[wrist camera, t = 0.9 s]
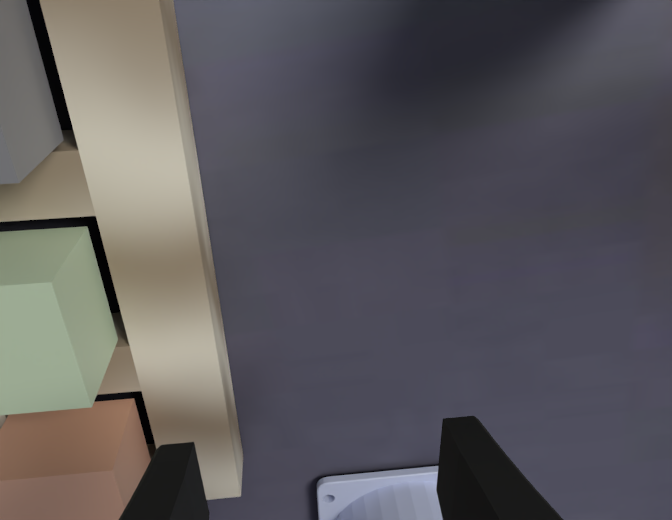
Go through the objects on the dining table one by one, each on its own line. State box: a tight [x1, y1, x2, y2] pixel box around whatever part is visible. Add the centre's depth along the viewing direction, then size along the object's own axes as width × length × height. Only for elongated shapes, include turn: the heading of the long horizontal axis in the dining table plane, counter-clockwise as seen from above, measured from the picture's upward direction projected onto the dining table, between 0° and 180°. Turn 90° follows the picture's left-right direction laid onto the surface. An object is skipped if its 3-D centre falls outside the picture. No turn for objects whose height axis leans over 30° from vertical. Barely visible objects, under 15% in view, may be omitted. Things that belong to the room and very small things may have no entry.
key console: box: [0, 0, 243, 500], centre depth 18 cm, size 20×10×2 cm, turn 1°
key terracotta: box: [0, 398, 151, 520], centre depth 19 cm, size 4×4×3 cm
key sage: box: [0, 226, 118, 415], centre depth 15 cm, size 4×4×3 cm
